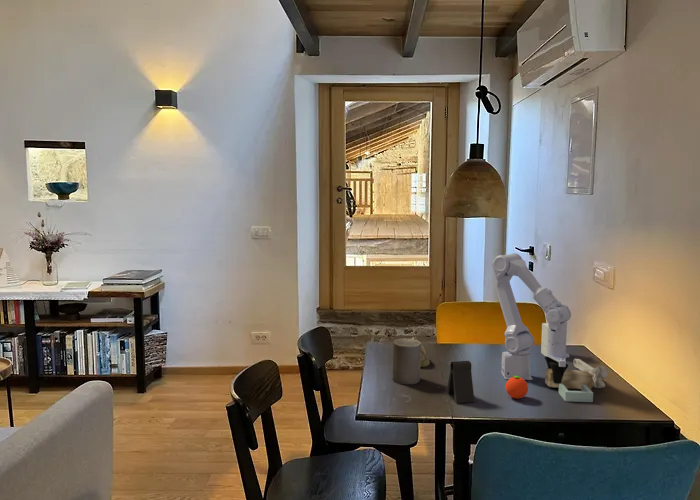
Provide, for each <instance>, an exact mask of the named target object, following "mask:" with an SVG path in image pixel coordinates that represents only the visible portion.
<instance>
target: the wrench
mask: <svg viewBox="0 0 700 500" xmlns="http://www.w3.org/2000/svg"><path fill="white" fill-rule="evenodd" d="M573 366H574V367H575V368H577V369H578V370H579V371H588V372H589V373H591V374H592V375H593V378H592V382H593V383H594V387H595V389H604V388H605V387H606V384H605V382H604V381H603V378H608V376H609V375H608V371H607V369H606V367H605V366H601V365H598V366H596V367H595V368H594V367H593V366H591V365H590V364H588V363H586V362H585V361H583V360H582V359H580V358H574V359H573Z"/></svg>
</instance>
